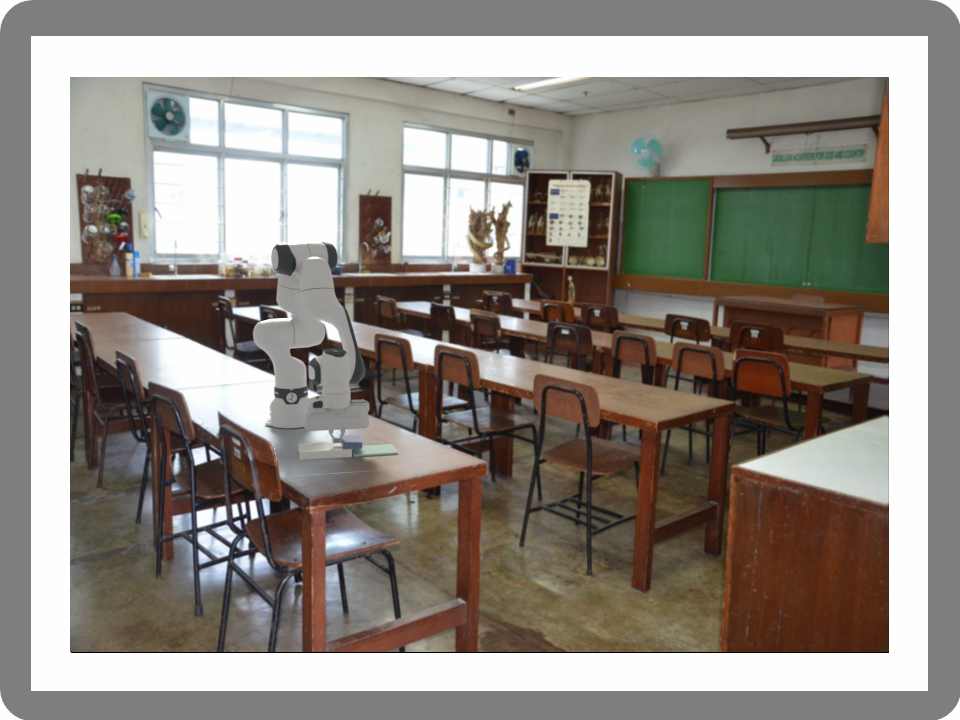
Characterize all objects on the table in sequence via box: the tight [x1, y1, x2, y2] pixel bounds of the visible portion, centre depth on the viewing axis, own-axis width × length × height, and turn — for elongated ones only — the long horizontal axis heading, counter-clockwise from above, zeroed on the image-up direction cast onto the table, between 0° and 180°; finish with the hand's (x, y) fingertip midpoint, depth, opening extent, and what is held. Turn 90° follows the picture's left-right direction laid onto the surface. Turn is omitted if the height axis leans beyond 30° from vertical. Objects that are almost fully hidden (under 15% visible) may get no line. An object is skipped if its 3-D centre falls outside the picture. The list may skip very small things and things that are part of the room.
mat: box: [352, 443, 399, 458], centre depth 253 cm, size 10×14×1 cm
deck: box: [297, 441, 353, 461], centre depth 249 cm, size 10×16×2 cm, turn 105°
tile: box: [341, 434, 363, 449], centre depth 251 cm, size 9×6×2 cm, turn 15°
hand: (337, 442), depth 250 cm, fingers closed
